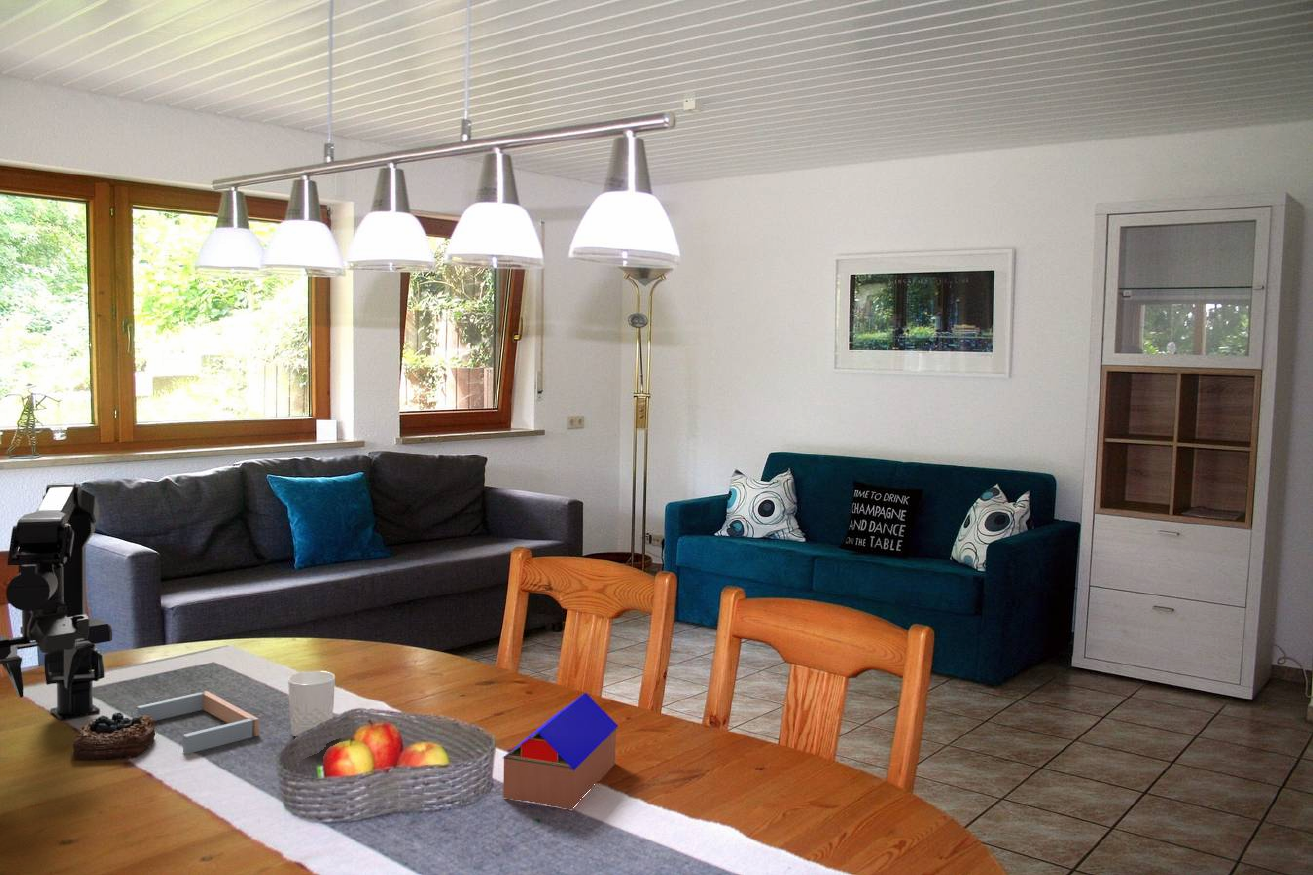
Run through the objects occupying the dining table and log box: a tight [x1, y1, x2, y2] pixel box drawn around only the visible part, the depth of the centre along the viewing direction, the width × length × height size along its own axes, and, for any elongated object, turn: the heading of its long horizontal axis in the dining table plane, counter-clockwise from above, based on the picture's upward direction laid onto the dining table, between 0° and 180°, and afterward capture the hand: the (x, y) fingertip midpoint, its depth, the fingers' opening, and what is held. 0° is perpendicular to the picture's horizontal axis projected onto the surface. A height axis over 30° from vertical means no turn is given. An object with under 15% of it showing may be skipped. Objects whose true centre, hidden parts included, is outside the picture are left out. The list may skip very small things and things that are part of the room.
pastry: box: [72, 712, 156, 761], centre depth 174 cm, size 11×12×6 cm
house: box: [502, 692, 619, 810], centre depth 165 cm, size 12×20×12 cm, turn 163°
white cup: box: [287, 670, 336, 737], centre depth 183 cm, size 8×8×10 cm
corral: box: [136, 690, 260, 755], centre depth 183 cm, size 20×13×3 cm, turn 48°
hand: (44, 692), depth 165 cm, fingers open, 6 cm apart
